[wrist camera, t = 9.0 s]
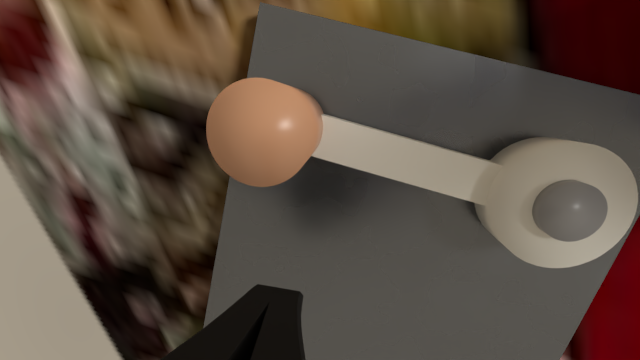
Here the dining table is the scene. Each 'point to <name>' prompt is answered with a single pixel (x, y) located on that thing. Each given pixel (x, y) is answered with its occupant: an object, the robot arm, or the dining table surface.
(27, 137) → the dining table surface
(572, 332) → the lock base
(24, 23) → the dining table surface
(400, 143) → the lever
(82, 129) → the dining table surface
